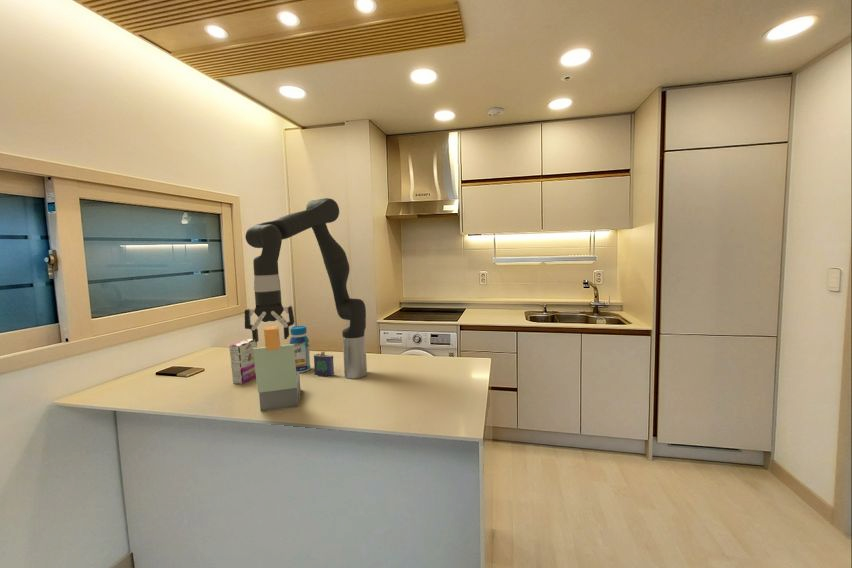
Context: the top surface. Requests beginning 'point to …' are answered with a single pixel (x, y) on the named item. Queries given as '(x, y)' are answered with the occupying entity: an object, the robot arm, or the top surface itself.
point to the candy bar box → (243, 361)
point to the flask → (323, 364)
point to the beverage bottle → (300, 348)
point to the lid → (274, 363)
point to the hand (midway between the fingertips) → (271, 340)
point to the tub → (280, 398)
